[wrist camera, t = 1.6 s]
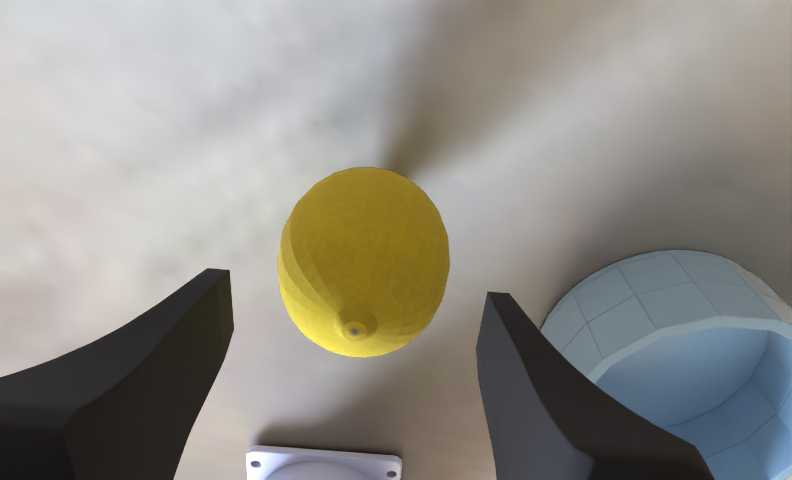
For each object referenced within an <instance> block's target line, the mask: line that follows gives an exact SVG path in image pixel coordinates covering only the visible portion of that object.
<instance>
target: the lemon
mask: <svg viewBox="0 0 792 480" xmlns="http://www.w3.org/2000/svg"><path fill="white" fill-rule="evenodd" d="M277 264H278V277H279V287H280V293H281V296H282V299H283V301H284V304H285V306H286V309H287V311H288V314H289V316H290V317H291V319H292V320H293V321H294V323H295V324H296V325H297V327H298V328H299V329H300V330H301V332H302V333H303V334H304V335H305V336H307V337H308V338H309V339H310V340H312V341H313V342H314V343H315V344H317V345H319V346H321V347H323V348H325V349H327V350H329V351H331V352H333V353H337V354H341V355H344V356H349V357H362V358H363V357H372V356H380V355H383V354H386V353H389V352H392V351H395V350H398V349H399V348H401V347H403V346H404V345H406V344H407V343H409V342H411V341H412V340H413V339H415V338H416V337H417V336H418V335H419V334H420V333H421V332H422V331H423V330H424V329H425V328H426V327H427V325H428V324H429V323H430V321H431V320H432V318H433V316H434V314H435V312H436V311H437V309H438V307H439V305H440V303H441V301H442V298H443V295H444V291H445V287H446V282H447V278H448V273H449V266H450V259H449V244H448V236H447V233H446V230H445V227H444V225H443V222H442V219H441V216H440V214H439V212H438V210H437V208H436V207H435V205H434V204H433V203H432V201H431V200H430V199H429V197H428V196H427V195H426V193H425V192H424V191H423V190H422V189H420V188H419V187H418V186H417V185H415V184H414V183H413V182H412V181H411V180H409V179H408V178H405V177H403V176H401V175H399V174H397V173H395V172H393V171H390V170H385V169H380V168H375V167H360V168H350V169H347V170H343V171H340V172H336V173H334V174H332V175H330V176H329V177H327V178H325V179H323V180H322V181H320V182H318V183H317V184H315V185H314V186H313V187H312V188H311V189H310V190H309V191H308V192H307V193H306V194H305V195H304V196H303V197H302V198H301V199H300V200H299V201H298V203H297V204H296V206H295V208H294V209H293V211H292V213H291V215H290V217H289V219H288V220H287V222H286V224H285V226H284V229H283V232H282V237H281V243H280V248H279V253H278V263H277Z"/></svg>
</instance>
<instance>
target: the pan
mask: <svg viewBox="0 0 792 480" xmlns="http://www.w3.org/2000/svg"><path fill="white" fill-rule="evenodd" d="M540 332H541V333H542V334H543V335H544V336H545V338H546V339H547V340H548V341H549V342H550V343H551V344H552V345H553V346H554V347H555V348H556V349H557V350H558V351H559V352H560V353H561V354H562V355H563V356H564V357H565V358H566V359H567V360H568V361H569V362H570V363H571V364H572V365H573V366H574V367H575V368H576V369H577V370H578V371H580V372H581V373H582V374H583V375H584V376H585V377H587V378H588V379H589V380H590V381H591V382H592V383H594V384H595V385H596V386H598V387H599V388H600V389H601V390H603V391H604V392H605V393H607V394H608V395H610V396H611V397H612V398H614V399H615V400H617V401H618V402H619V403H621V404H622V405H624V406H625V407H627V408H628V409H630V410H631V411H633V412H635V413H636V414H638V415H639V416H641V417H643V418H644V419H646V420H648V421H649V422H651V423H653V424H654V425H656V426H658V427H660V428H662V429H664V430H666V431H668V432H669V433H671V434H673V435H675V436H677V437H679V438H681V439H683V440H685V441H687V442H689V443H691V444H693V445H695V446H696V448H697V449H698V451H699V452H700V454H701V456H702V457H703V459H704V460H705V462H706V464H707V466H708V468H709V469H710V471H711V473H712V475H713V477H714V479H715V480H786V479H787V478H789V477H790V476H791V475H792V309H791V308H790V307H789V306H788V305H787V304H786V303H785V302H784V301H783V300H782V299H781V298H780V297H779V296H778V295H777V294H776V293H775V292H774V291H773V290H772V289H771V288H770V287H769V286H768V285H767V284H766V283H765V282H764V281H763V280H762V279H760V278H759V277H757V276H755V275H754V274H752V273H750V272H749V271H748V270H747V269H745V268H744V267H742V266H740V265H739V264H737V263H736V262H733V261H731V260H729V259H726V258H724V257H721V256H718V255H714V254H711V253H707V252H700V251H693V250H665V251H655V252H650V253H645V254H640V255H636V256H633V257H629V258H626V259H623V260H620V261H618V262H616V263H613V264H611V265H608V266H606V267H604V268H602V269H601V270H599V271H597V272H595V273H593V274H591V275H590V276H588V277H587V278H585V279H584V280H583V281H581V282H580V283H578V284H577V285H576V286H575V287H573V288H572V289H571V290H570V291H569V292H568V293H566V295H565V296H564V297H563V298H562V299H561V300H560V301H559V302H558V303H557V304H556V305H555V307H554V308H553V310H552V311H551V312H550V314H549V315H548V317H547V319H546V321H545V322H544V324H543V326H542V328H541V331H540Z"/></svg>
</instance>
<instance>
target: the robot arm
mask: <svg viewBox="0 0 792 480" xmlns="http://www.w3.org/2000/svg"><path fill="white" fill-rule="evenodd" d="M233 330H234V322H233V309H232V296H231V283H230V270H222V269H210V268H207V269H206V270H204V271H203V272H201V273H200V274H199V275H197V276H196V277H195V278H193V279H192V280H190V281H189V282H188V283H186V284H185V285H184V286H182V287H181V288H180V289H178V290H177V291H175V292H174V293H173V294H171V295H170V296H168V297H167V298H166V299H164V300H163V301H161V302H160V303H159V304H157V305H156V306H154V307H152V308H151V309H149V310H148V311H146V312H145V313H143V314H142V315H140V316H138V317H137V318H135V319H134V320H132V321H131V322H129V323H127V324H126V325H124V326H122V327H120V328H119V329H117V330H115V331H113V332H111V333H109V334H108V335H106V336H104V337H102V338H100V339H98V340H96V341H94V342H92V343H90V344H88V345H85V346H83V347H81V348H78V349H76V350H74V351H72V352H69V353H67V354H65V355H62V356H60V357H58V358H55V359H53V360H50V361H48V362H45V363H42V364H40V365H37V366H34V367H31V368H28V369H25V370H22V371H19V372H16V373H13V374H10V375H7V376H4V377H0V480H173V479H174V476H175V473H176V470H177V467H178V464H179V461H180V458H181V455H182V453H183V450H184V447H185V444H186V441H187V439H188V436H189V434H190V432H191V429H192V427H193V425H194V422H195V420H196V418H197V416H198V414H199V412H200V410H201V408H202V406H203V404H204V402H205V400H206V397H207V395H208V393H209V391H210V389H211V387H212V385H213V383H214V381H215V379H216V377H217V374H218V372H219V370H220V368H221V366H222V364H223V361H224V359H225V356H226V353H227V350H228V347H229V344H230V340H231V337H232V334H233ZM476 355H477V369H478V380H479V386H480V391H481V395H482V400H483V405H484V410H485V415H486V419H487V424H488V429H489V434H490V438H491V443H492V448H493V454H494V460H495V467H496V477H497V480H715V479H714V477H713V475H712V473H711V471H710V469H709V468H708V466H707V464H706V462H705V460H704V459H703V457H702V456H701V454H700V452H699V451H698V449H697V448H696V446H695V445H693V444H691V443H689V442H687V441H685V440H683V439H681V438H679V437H677V436H675V435H673V434H671V433H669V432H668V431H666V430H664V429H662V428H660V427H658V426H656V425H654V424H653V423H651V422H649V421H648V420H646V419H644V418H643V417H641V416H639V415H638V414H636V413H635V412H633V411H631V410H630V409H628V408H627V407H625V406H624V405H622V404H621V403H619V402H618V401H617V400H615V399H614V398H612V397H611V396H610V395H608V394H607V393H605V392H604V391H603V390H601V389H600V388H599V387H598V386H596V385H595V384H594V383H592V382H591V381H590V380H589V379H588V378H587V377H585V376H584V375H583V374H582V373H581V372H580V371H578V370H577V369H576V368H575V367H574V366H573V365H572V364H571V363H570V362H569V361H568V360H567V359H566V358H565V357H564V356H563V355H562V354H561V353H560V352H559V351H558V350H557V349H556V348H555V347H554V346H553V345H552V344H551V343H550V342H549V341H548V340H547V339H546V338H545V336H544V335H543V334H542V333H541V332H540V331H539V330H538V328H537V327H536V326H535V325H534V324H533V322H532V321H531V320H530V319H529V317H528V316H527V315H526V314H525V313H524V311H523V310H522V309H521V307H520V306H519V305H518V304H517V302H516V301H515V300H514V299H513V297H512V296H511V295H510V294H509V293H498V292H487V297H486V302H485V307H484V312H483V317H482V322H481V327H480V332H479V337H478V341H477V346H476ZM246 464H247V478H248V480H401V472H402V460H401V459H400V458H399V457H397V456H394V455H381V454H368V453H355V452H342V451H329V450H315V449H302V448H289V447H276V446H263V445H253V446H250V447H249V448H248V450H247V453H246Z"/></svg>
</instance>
